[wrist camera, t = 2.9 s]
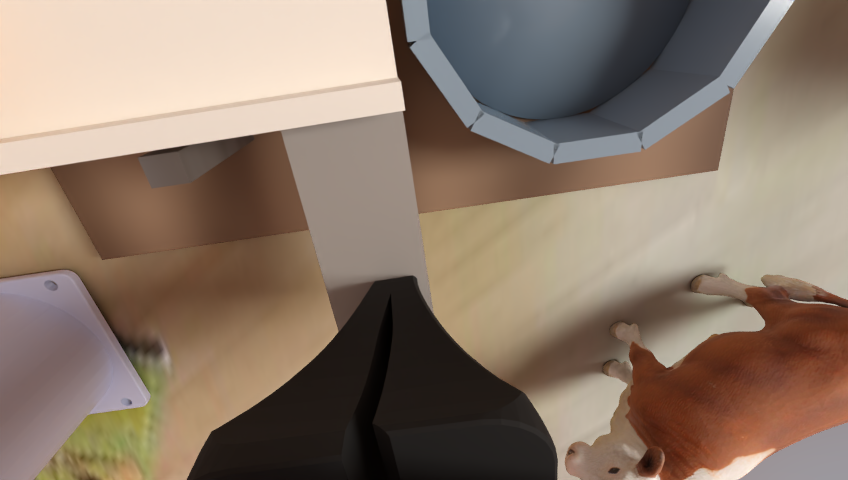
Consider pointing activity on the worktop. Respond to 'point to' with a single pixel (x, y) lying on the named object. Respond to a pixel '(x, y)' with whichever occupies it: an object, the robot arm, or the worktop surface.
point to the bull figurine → (726, 390)
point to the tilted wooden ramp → (228, 107)
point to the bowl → (585, 66)
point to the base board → (277, 191)
